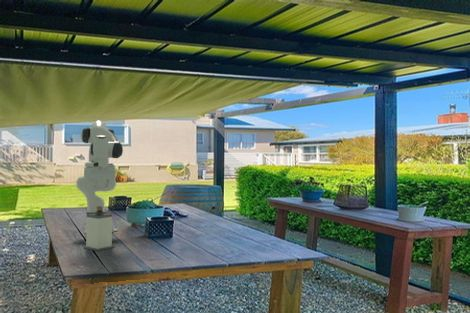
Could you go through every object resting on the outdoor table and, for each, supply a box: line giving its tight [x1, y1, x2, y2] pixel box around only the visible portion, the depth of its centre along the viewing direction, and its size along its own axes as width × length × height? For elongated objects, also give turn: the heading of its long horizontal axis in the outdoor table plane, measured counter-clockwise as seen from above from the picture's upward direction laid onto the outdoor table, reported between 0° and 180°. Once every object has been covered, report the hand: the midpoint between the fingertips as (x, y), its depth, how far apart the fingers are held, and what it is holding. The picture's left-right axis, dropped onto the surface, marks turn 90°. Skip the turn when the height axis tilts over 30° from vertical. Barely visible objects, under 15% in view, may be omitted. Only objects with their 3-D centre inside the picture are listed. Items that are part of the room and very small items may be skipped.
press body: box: [83, 212, 115, 252], centre depth 251 cm, size 12×12×20 cm
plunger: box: [95, 206, 106, 215], centre depth 251 cm, size 7×7×19 cm
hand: (100, 187), depth 251 cm, fingers open, 8 cm apart
